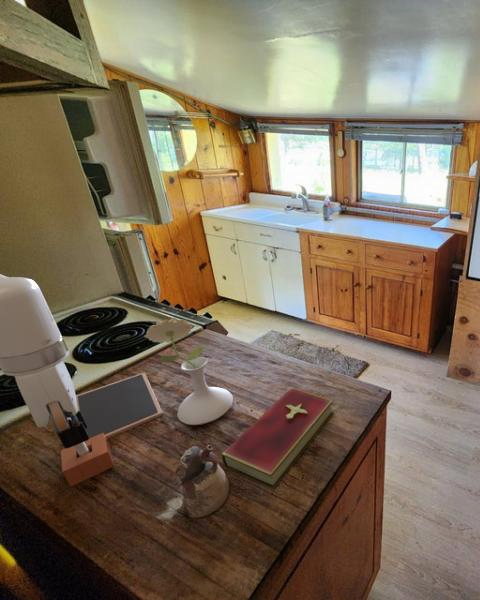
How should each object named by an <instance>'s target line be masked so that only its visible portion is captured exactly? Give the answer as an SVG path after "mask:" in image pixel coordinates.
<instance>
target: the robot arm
mask: <svg viewBox="0 0 480 600" xmlns="http://www.w3.org/2000/svg"><path fill="white" fill-rule="evenodd" d="M69 355H70V350H69V348H68V346H67V344H66V341H65V339H64V337H63V336H62V334H61V332H60V329H59V327H58V325H57V323H56V320H55V318H54V316H53V314H52V311H51V310H50V307H49V305H48V303H47V301H46V299H45V296H44V294H43V293H42V290H41V288H40V286H39V285H38V283H37V282H36V281H34V280H33V279H31V278H27V277H24V276H23V277H22V276H5V275H3V274H1V273H0V370H1V372H2V373H3V374H4V375H6V376H9V377H14V378H15V382H16V385H17V387H18V390H19V392H20V394H21V397H22V398H23V399H22V400H23V401H24V403H25V405H26V406H27V409H28V411H29V412H30V414H31V417H32V419H33V422H34V423H35V425H36V428H40V429H43V428H44V427H47V426H48V425H49V421H51V423H52V425H53V427H54V429H55V431H56V434H57V436H58V438H59V440H60V442H61V443H62V445H63V447H64V449H65V448H70V447H73V446H75V445H77V444H80V443H82V442H85V441H87V440H89V436H88V434H87V432H86V430H85V429H86V428H87V424H86V422H85V420H84V418H83V416H82V414H81V412H80V411H78V408H77V400H76V395H77V394H76V389H75V386H74V382H73V379H72V378H71V375H70V373H69V371H68V368H67V366H66V364H65V360H66V359H67V358H68V357H69ZM68 417H70V418H71V419H70V420H67V418H68Z"/></svg>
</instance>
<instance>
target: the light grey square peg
mask: <svg viewBox="0 0 480 600" xmlns="http://www.w3.org/2000/svg"><path fill="white" fill-rule="evenodd" d="M70 419H71V418H70V417H68V418H67V420H70ZM74 448H75V449H76V451H77V453H78V454H79V456H80V457H81V456H83V455H85V454H88V453H90V452H89V450H88V448H87V446H86V445H85V443H84V442H82V443H80V444H77V445H75V446H74Z"/></svg>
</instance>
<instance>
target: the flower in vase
mask: <svg viewBox="0 0 480 600" xmlns="http://www.w3.org/2000/svg"><path fill="white" fill-rule="evenodd" d="M192 329H193V326H192V324H190V323H189V321H188V320H185V319H178V320H177V318H176V317H173V318H171V319H164V320H163V321H161V320H158V321H156V322H155V324H151V325H150V326H149V328H147V330H146V334H144V338H146V339H148V341H152V343H158V344H163V343H165V342H166V343H172V347H173V350H174V352H175V354H168V355H163V356H161V357H160V358H159V359H158V360H157V361H156V362H155V364H162V363H172V362H175V361H176V360H177V359H178V358H180V359H182V360H183V362H182V363H181V365H180V368H181V370H183V371H185V372H187V373H188V374H189V376H190V378H191V379H192V382H193V385H194V390H193V392H192V393H191V394H189V395H188V396H187V397H186V398H184V399H183V401H182V402H181V403H180V404H179V406H178V409H177V413H176V414H177V419H178V420H179V421H180V422H181V423H184V424H186V425H190V426H201V425H205V424H208V423H211V422H214V421H216V420H218V419H220V417H222V416H224V415H225V414H226V413H228V411H229V410H230V408H231V407H232V405H233V403H234V397H233V394H232V393H231V392H230V391H229V390H228V389H226V388H222V387H218V386H209V385H208V383H207V381H206V378H205V377H206V376H205V367H206V365H207V364H208V358H207V357H206V356H205V357H204V356H201V354H202V353H203V352H204V348H205V345H201V346H199V347H196V348H194V349H192V350H191V351H190V353H189V354H188V357H187V358H185V357H184V356H182V355H180V354H179V352H178V351H177V349H176V345H175V342H176V341H178V340H180V339H183V338H184V337H186V336H190V332H192Z"/></svg>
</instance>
